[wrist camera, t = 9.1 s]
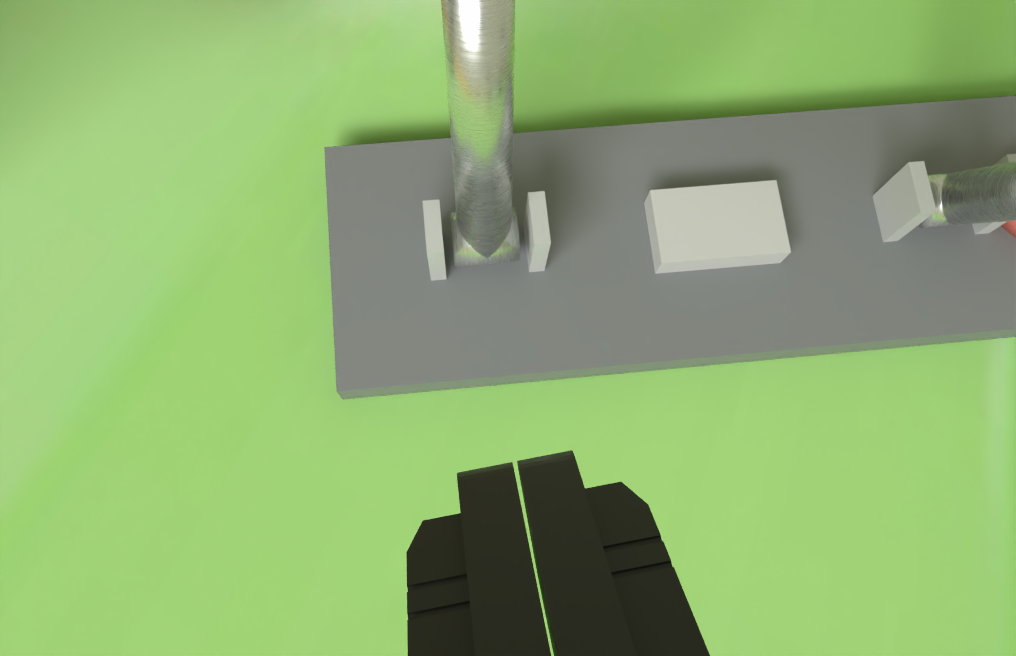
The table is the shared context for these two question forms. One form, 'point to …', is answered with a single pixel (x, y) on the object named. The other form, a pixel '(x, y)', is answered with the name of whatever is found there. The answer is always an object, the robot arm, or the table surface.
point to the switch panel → (670, 248)
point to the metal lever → (481, 128)
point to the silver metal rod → (973, 196)
